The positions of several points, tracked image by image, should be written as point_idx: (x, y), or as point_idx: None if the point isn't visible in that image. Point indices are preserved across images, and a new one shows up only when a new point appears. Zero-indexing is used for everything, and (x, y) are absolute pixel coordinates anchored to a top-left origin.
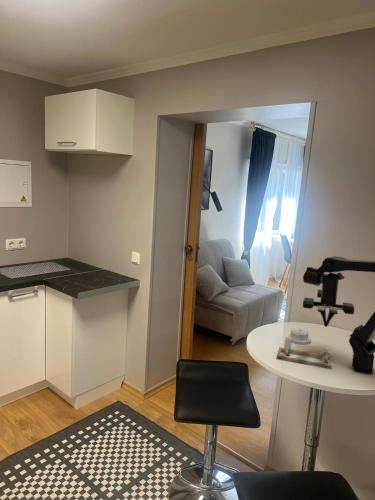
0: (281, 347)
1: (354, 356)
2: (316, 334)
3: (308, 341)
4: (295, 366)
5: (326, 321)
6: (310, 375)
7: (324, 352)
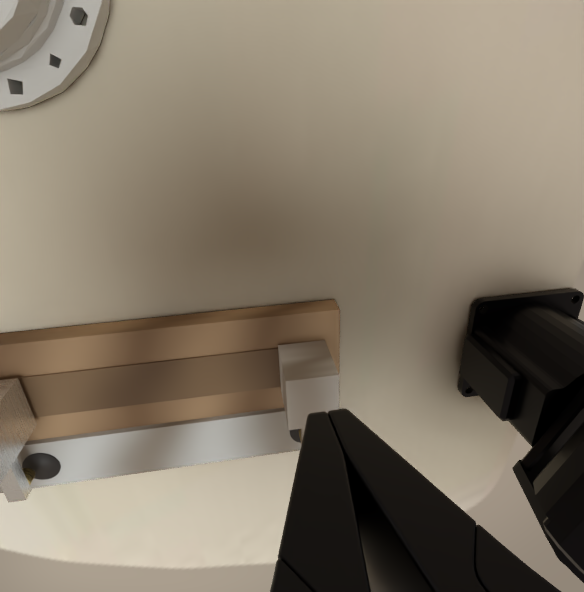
0: None
1: (509, 417)
2: None
3: (91, 41)
4: (135, 496)
5: (356, 507)
6: (232, 533)
7: (296, 425)
